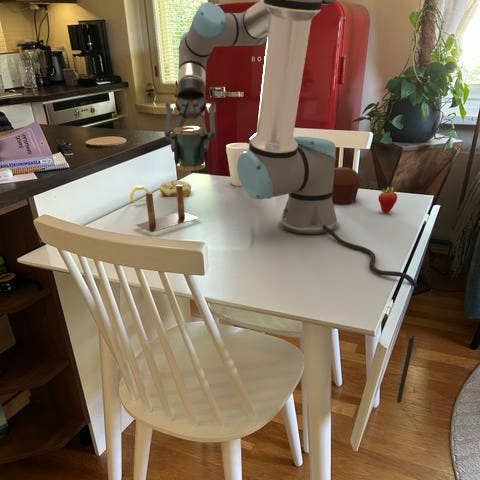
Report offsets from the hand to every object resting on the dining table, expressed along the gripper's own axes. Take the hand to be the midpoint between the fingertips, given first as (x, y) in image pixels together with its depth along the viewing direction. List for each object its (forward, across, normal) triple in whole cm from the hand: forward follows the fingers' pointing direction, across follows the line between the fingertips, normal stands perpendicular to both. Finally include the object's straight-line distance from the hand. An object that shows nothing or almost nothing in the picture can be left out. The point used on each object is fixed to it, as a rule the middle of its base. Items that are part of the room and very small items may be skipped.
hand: (189, 161), depth 125 cm
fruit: (+5, -56, -20) cm, 60 cm away
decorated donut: (-10, +9, -35) cm, 38 cm away
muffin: (-4, -45, -29) cm, 54 cm away
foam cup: (-19, -12, -44) cm, 50 cm away
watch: (-2, +19, -27) cm, 33 cm away
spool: (-1, 0, -4) cm, 4 cm away
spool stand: (+12, +7, -13) cm, 19 cm away
